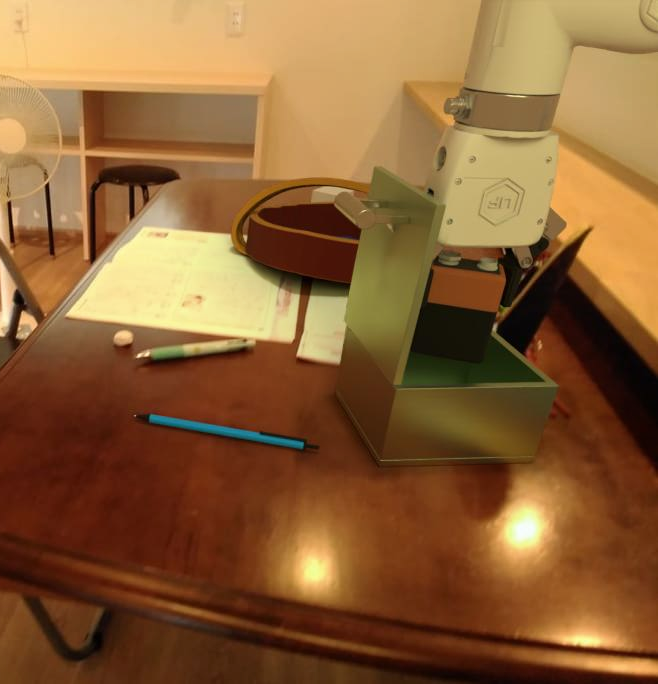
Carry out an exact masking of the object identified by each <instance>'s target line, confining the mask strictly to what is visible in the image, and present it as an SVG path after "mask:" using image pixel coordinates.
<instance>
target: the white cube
mask: <svg viewBox="0 0 658 684" xmlns="http://www.w3.org/2000/svg"><path fill="white" fill-rule="evenodd" d="M341 192H349V193H350V194H352V195H353V196H354V197H355V190H352V189H347V188H340V187H328V186H320V187H318V188H315V189H312V192H311V193H312V194H311V201H310V202H334V199H335V197H336V196H337V195H338V194H339V193H341Z"/></svg>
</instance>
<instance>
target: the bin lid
mask: <svg viewBox="0 0 658 684" xmlns="http://www.w3.org/2000/svg"><path fill="white" fill-rule="evenodd" d="M369 186H370V190H369V194H367V195H368V196H367V197H365V198H364V197H355V195H354V196H353V195H352V194H350V193H349V192H341V193H339V194H338V195H337V196H336V197H335V199H334V205H335V207H336V208H337V209H338V210H339V211H340V212H341V213H342V214H343V215H345V216H346V217H347V218H348V219H349V220H350V221H351V222H353V223H354V224H355V225H356V226H357V227H358V228H360V229H362V230H361V235H360V240H359V246H358V251H357V256H356V261H355V266H354V271H353V276H352V281H351V283H350V286H349V292H348V297H347V302H346V307H345V312H344V317H343V322H344V323H345V324H346V325H348V327H349V328H350V329H351V331H352V332H353V333H354V335H355V336H356V337H357V338H358V340H359V341H360V342H361V344H362V345H363V346H364V347H365V349H366V350H367V351H368V353H369V354H370V355H371V357H372V358H373V359H374V360H375V362H376V363H377V364H378V366H379V367H380V368H381V370H382V371H383V372H384V373H385V375H386V376H387V377H388V379H389V380H390V381H391V382H392V384H401V383H402V379H403V375H404V371H405V367H406V363H407V359H408V355H409V351H410V347H411V343H412V339H413V335H414V331H415V327H416V323H417V319H418V315H419V311H420V307H421V303H422V299H423V295H424V291H425V287H426V283H427V279H428V275H429V272H430V268H431V264H432V260H433V256H434V252H435V248H436V244H437V240H438V236H439V232H440V228H441V224H442V220H443V216H444V212H445V208H446V205H445V204H443V203H442V202H440V201H438V200H437V199H435V198H433V197H432V196H430V195H428V194H427V193H425V192H423V190H421V189H420V188H418V187H416V186H415V185H414V184H411V183H410V182H408V181H406V180H405V179H403V178H401V177H400V176H399V175H396V174H395V173H393V172H392V171H390V170H388V169H387V168H385V167H383V166H379V165H374V166H373V171H372V175H371V181H370V185H369ZM387 224H396V228H395V233H394V232H392V231H391V230H390V229H389V228H388V226H387Z"/></svg>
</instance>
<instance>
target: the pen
mask: <svg viewBox="0 0 658 684" xmlns="http://www.w3.org/2000/svg"><path fill="white" fill-rule="evenodd" d="M133 416H134V417H135V418H137V419H140V420H142V421H145V422H146V423H149V424H154V425H160V426H167V427H173V428H178V429H183V430H189V431H195V432H201V433H207V434H213V435H219V436H224V437H228V438H229V437H230V438H236V439H241V440H246V441H253V442H258V443H264V444H270V445H275V446H281V447H286V448H292V449H298V450H305V451H306V450H307V449H313V450H320V445H316V444H311V443H308V440H307V438H302V437H298V436H297V437H296V436H290V435H285V434H279V433H274V432H268V431H262V430H259V432H257V431H252V430H245V429H239V428H235V427H234V428H233V427H228V426H222V425H216V424H210V423H205V422H198V421H194V420H187V419H181V418H175V417H170V416H164V415H157V414H152V413H146V414H134V415H133Z"/></svg>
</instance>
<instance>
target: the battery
mask: <svg viewBox="0 0 658 684" xmlns="http://www.w3.org/2000/svg"><path fill="white" fill-rule="evenodd" d="M497 260H498V259H495V258H492V257H480V258H479V259H470V258H463V257H462V253H461V252H458V251H454V250H451V249H447V250H446V249H443V250H442V251H441V252H440V253H439V254H438V256H437V257H436V258H435V259H434V260H433V261H432V264H431V268H432V269H433V270H434V275H433V279H432V284H431V288H430V292H429V297H428V301H427V305H426V307H424V308H420V311H419V315H418V319H417V323H416V327H415V331H414V335H413V339H412V343H411V347H410V350H411V351H412V352H414V353H419V354H425V355H430V356H436V357H442V358H447V359H453V360H458V361H464V362H470V363H476V364H480V363H482V362H483V361H484V358H485V354H486V350H487V347H488V343H489V340H490V336H491V333H492V330H494V325H495V322H496V318H497V314H498V311H499V307H500V301H501V297H502V293H503V290H504V286H505V283H506V277H505V273H504V268H503V266H502V265H501V264H499V263H498V261H497Z"/></svg>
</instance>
